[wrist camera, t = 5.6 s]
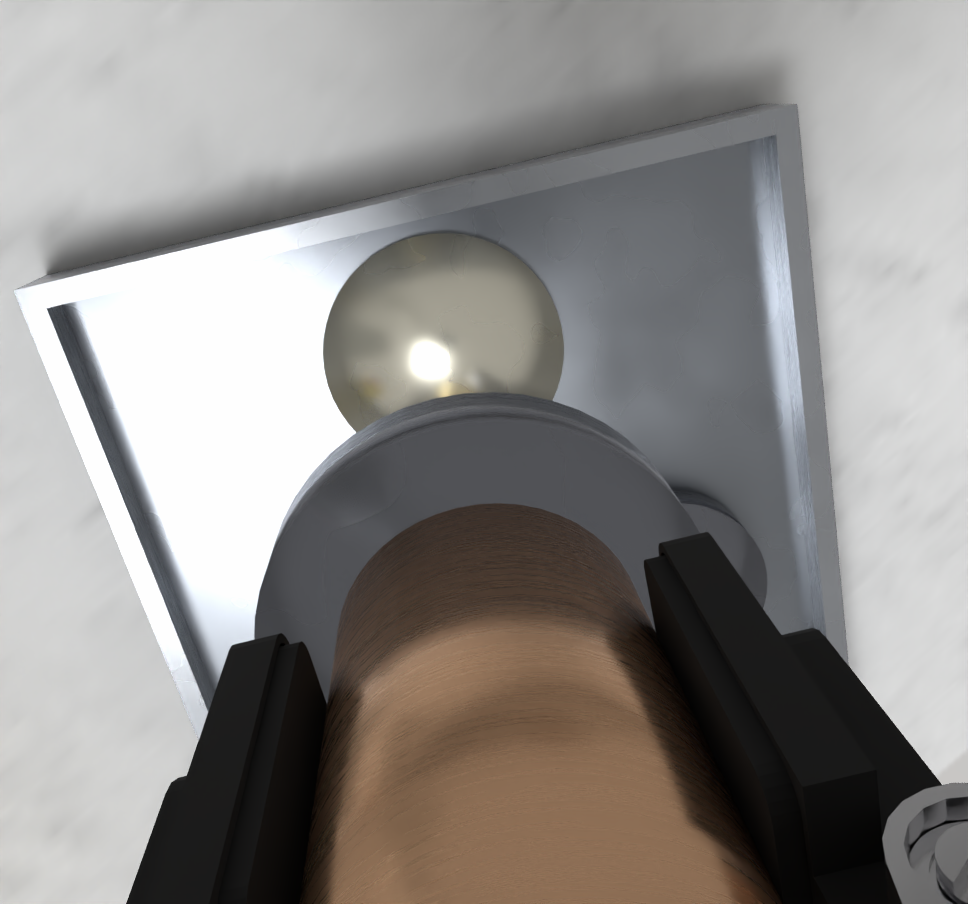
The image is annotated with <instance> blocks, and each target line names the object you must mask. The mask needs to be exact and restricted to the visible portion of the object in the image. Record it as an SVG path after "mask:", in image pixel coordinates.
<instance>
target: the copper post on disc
mask: <svg viewBox="0 0 968 904" xmlns="http://www.w3.org/2000/svg"><path fill="white" fill-rule="evenodd" d="M695 534H700V532H699V531H698V529H697V527H696V526H695V524H694V522H693V521H692V519H691V517H690V515H689V514H688V512H687V511H686V510H685V508H684V507H683V505H682V504H681V502H680V501H679V499H678V498H677V496H676V495H675V494H674V492H673V491H672V489H671V488H670V486H669V485H668V483H667V482H666V480H665V479H664V478H663V476H662V475H661V474H660V473H659V471H658V470H657V469H656V468H655V466H654V465H653V464H652V463H651V461H650V460H649V459H648V458H647V457H646V456H645V455H644V454H643V453H642V452H641V451H640V450H639V449H638V448H637V447H636V446H635V445H633V444H632V443H631V442H630V441H629V440H628V439H627V438H625V437H624V436H623V435H621V434H620V433H618V432H617V431H615V430H614V429H613V428H611V427H610V426H608V425H607V424H605V423H604V422H602V421H600V420H598V419H596V418H594V417H592V416H590V415H588V414H586V413H584V412H582V411H580V410H578V409H575V408H572V407H569V406H566V405H563V404H561V403H558V402H555V401H552V400H547V399H543V398H538V397H533V396H528V395H524V394H512V393H499V392H484V393H463V394H457V395H451V396H446V397H440V398H434V399H431V400H427V401H424V402H421V403H418V404H414V405H411V406H408V407H405V408H402V409H400V410H398V411H396V412H394V413H391V414H389V415H387V416H385V417H382V418H380V419H378V420H376V421H375V422H373V423H371V424H370V425H368V426H366V427H365V428H363V429H362V430H360V431H358V432H357V433H355V434H354V435H352V436H351V437H350V438H348V439H347V440H346V441H345V442H343V443H342V444H341V445H340V446H338V447H337V448H336V449H335V450H334V451H332V452H331V453H330V454H329V455H328V456H327V457H326V458H325V459H324V460H323V461H322V462H321V464H320V465H319V466H318V467H317V468H316V469H315V470H314V471H313V472H312V473H311V474H310V476H309V477H308V478H307V480H306V481H305V483H304V484H303V485H302V487H301V488H300V490H299V491H298V493H297V494H296V495H295V497H294V499H293V501H292V503H291V505H290V507H289V509H288V510H287V512H286V514H285V516H284V518H283V520H282V523H281V526H280V529H279V532H278V535H277V538H276V541H275V543H274V546H273V550H272V553H271V556H270V559H269V562H268V566H267V569H266V572H265V575H264V578H263V581H262V585H261V588H260V591H259V597H258V603H257V608H256V614H255V628H254V639H259V638H263V637H267V636H271V635H275V634H280V633H282V634H283V635H285V637H286V638H287V640H288V641H289V644H293V643H297V642H301V641H302V642H303V643H304V644H305V645H306V647H307V649H308V651H309V654H310V657H311V660H312V662H313V665H314V668H315V671H316V674H317V677H318V680H319V683H320V686H321V689H322V691H323V694H324V697H325V700H326V703H327V710H326V717H325V724H324V732H323V739H322V746H321V753H320V760H319V767H318V774H317V781H316V789H315V796H314V803H313V810H312V817H311V824H310V831H309V838H308V846H307V853H306V860H305V867H304V874H303V881H302V888H301V895H300V903H299V904H783V903H782V901H781V899H780V897H779V894H778V892H777V890H776V888H775V886H774V884H773V882H772V880H771V877H770V875H769V873H768V871H767V869H766V867H765V865H764V862H763V860H762V858H761V856H760V854H759V852H758V850H757V848H756V845H755V843H754V841H753V839H752V837H751V835H750V833H749V830H748V828H747V826H746V824H745V822H744V820H743V818H742V816H741V813H740V811H739V809H738V807H737V805H736V803H735V801H734V798H733V796H732V794H731V792H730V790H729V788H728V786H727V784H726V781H725V779H724V777H723V775H722V773H721V771H720V769H719V766H718V764H717V762H716V760H715V758H714V756H713V754H712V752H711V749H710V747H709V745H708V743H707V741H706V739H705V737H704V735H703V732H702V730H701V728H700V726H699V724H698V722H697V720H696V717H695V715H694V713H693V711H692V709H691V707H690V705H689V703H688V700H687V698H686V696H685V694H684V692H683V690H682V688H681V685H680V683H679V681H678V679H677V677H676V675H675V673H674V671H673V668H672V666H671V664H670V662H669V660H668V658H667V656H666V653H665V651H664V649H663V647H662V645H661V643H660V641H659V639H658V636H657V634H656V631H655V625H654V620H653V614H652V609H651V604H650V598H649V593H648V587H647V582H646V576H645V570H644V560H646V559H650V558H654V557H658V556H659V549H658V546H659V543H662V542H666V541H670V540H674V539H679V538H683V537H687V536H691V535H695Z"/></svg>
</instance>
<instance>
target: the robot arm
mask: <svg viewBox="0 0 968 904" xmlns="http://www.w3.org/2000/svg"><path fill="white" fill-rule="evenodd" d="M658 549H659V556H658V557H654V558H650V559H646V560H644V570H645V576H646V582H647V587H648V593H649V598H650V604H651V609H652V614H653V620H654V625H655V631H656V634H657V636H658V639H659V641H660V643H661V645H662V647H663V649H664V651H665V653H666V656H667V658H668V660H669V662H670V664H671V666H672V668H673V671H674V673H675V675H676V677H677V679H678V681H679V683H680V685H681V688H682V690H683V692H684V694H685V696H686V698H687V700H688V703H689V705H690V707H691V709H692V711H693V713H694V715H695V717H696V720H697V722H698V724H699V726H700V728H701V730H702V732H703V735H704V737H705V739H706V741H707V743H708V745H709V747H710V749H711V752H712V754H713V756H714V758H715V760H716V762H717V764H718V766H719V769H720V771H721V773H722V775H723V777H724V779H725V781H726V784H727V786H728V788H729V790H730V792H731V794H732V796H733V798H734V801H735V803H736V805H737V807H738V809H739V811H740V813H741V816H742V818H743V820H744V822H745V824H746V826H747V828H748V830H749V833H750V835H751V837H752V839H753V841H754V843H755V845H756V848H757V850H758V852H759V854H760V856H761V858H762V860H763V862H764V865H765V867H766V869H767V871H768V873H769V875H770V877H771V880H772V882H773V884H774V886H775V888H776V890H777V892H778V894H779V897H780V899H781V901H782V903H783V904H968V783H950V784H945V785H942V784H941V783H940V782H939V780H938V779H937V778H936V777H935V775H934V774H933V773H932V772H931V770H930V769H929V768H928V766H927V765H926V764H925V763H924V761H923V760H922V759H921V757H920V756H919V755H918V754H917V752H916V751H915V750H914V749H913V747H912V746H911V745H910V743H909V742H908V741H907V740H906V738H905V737H904V736H903V735H902V733H901V732H900V731H899V729H898V728H897V727H896V726H895V724H894V723H893V722H892V721H891V719H890V718H889V717H888V715H887V714H886V713H885V712H884V710H883V709H882V708H881V707H880V705H879V704H878V703H877V701H876V700H875V699H874V698H873V696H872V695H871V694H870V693H869V691H868V690H867V689H866V687H865V686H864V685H863V684H862V682H861V681H860V680H859V679H858V677H857V676H856V675H855V673H854V672H853V671H852V670H851V668H850V667H849V666H848V665H847V663H846V662H845V661H844V659H843V658H842V657H841V656H840V654H839V653H838V652H837V651H836V649H835V648H834V647H833V645H832V644H831V643H830V642H829V640H828V639H827V638H826V637H825V636H824V635H823V634H822V633H821V632H820V631H819V630H818V629H815V628H809V629H805V630H800V631H796V632H792V633H788V634H784V635H781V634H780V632H779V631H778V629H777V628H776V626H775V625H774V624H773V622H772V621H771V619H770V618H769V617H768V615H767V614H766V612H765V611H764V609H763V608H762V607H761V605H760V604H759V602H758V601H757V599H756V598H755V597H754V595H753V594H752V592H751V591H750V590H749V588H748V587H747V585H746V584H745V582H744V581H743V580H742V578H741V577H740V575H739V574H738V573H737V571H736V570H735V568H734V567H733V565H732V564H731V563H730V561H729V560H728V558H727V557H726V555H725V554H724V553H723V551H722V550H721V548H720V547H719V546H718V544H717V543H716V541H715V540H714V538H713V537H712V536H711V534H710V533H709V532H704V533H700V534H695V535H691V536H687V537H683V538H679V539H674V540H670V541H666V542H662V543H659V546H658ZM326 710H327V703H326V700H325V697H324V694H323V691H322V689H321V686H320V683H319V680H318V677H317V674H316V671H315V668H314V665H313V662H312V660H311V657H310V654H309V651H308V649H307V647H306V645H305V644H304V643H303V642H302V641H301V642H297V643H293V644H289V641H288V640H287V638H286V637H285V635H283V634H282V633H280V634H275V635H271V636H267V637H263V638H259V639H254V640H250V641H246V642H242V643H238V644H234V645H232V646H231V648H230V649H229V652H228V655H227V658H226V661H225V664H224V667H223V670H222V673H221V676H220V679H219V682H218V685H217V688H216V691H215V694H214V697H213V700H212V702H211V705H210V708H209V711H208V714H207V717H206V720H205V723H204V726H203V729H202V732H201V735H200V738H199V741H198V744H197V747H196V750H195V753H194V756H193V759H192V762H191V765H190V768H189V771H188V774H187V776H184V777H180V778H177V779H176V780H175V781H173V782H172V783H171V784H170V786H169V788H168V790H167V792H166V794H165V797H164V800H163V802H162V805H161V808H160V811H159V814H158V816H157V819H156V822H155V825H154V828H153V830H152V833H151V836H150V839H149V842H148V844H147V847H146V850H145V853H144V856H143V858H142V861H141V864H140V867H139V870H138V872H137V875H136V878H135V881H134V884H133V886H132V889H131V892H130V895H129V898H128V900H127V903H126V904H299V903H300V895H301V888H302V881H303V874H304V867H305V860H306V853H307V846H308V838H309V831H310V824H311V817H312V810H313V803H314V796H315V789H316V781H317V774H318V767H319V760H320V753H321V746H322V739H323V732H324V724H325V717H326Z"/></svg>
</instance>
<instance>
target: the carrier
mask: <svg viewBox="0 0 968 904" xmlns="http://www.w3.org/2000/svg"><path fill="white" fill-rule="evenodd" d="M14 293H15V295H16V298H17V300H18V303H19V305H20V307H21V310H22V312H23V315H24V317H25V320H26V322H27V324H28V327H29V329H30V332H31V334H32V337H33V339H34V342H35V344H36V346H37V349H38V351H39V354H40V356H41V359H42V361H43V363H44V366H45V368H46V371H47V373H48V376H49V378H50V380H51V383H52V385H53V388H54V390H55V393H56V395H57V397H58V400H59V402H60V405H61V407H62V410H63V412H64V415H65V417H66V419H67V422H68V424H69V427H70V429H71V432H72V434H73V436H74V439H75V441H76V444H77V446H78V449H79V451H80V453H81V456H82V458H83V461H84V463H85V466H86V468H87V470H88V473H89V475H90V478H91V480H92V483H93V485H94V488H95V490H96V492H97V495H98V497H99V500H100V502H101V505H102V507H103V509H104V512H105V514H106V517H107V519H108V522H109V524H110V526H111V529H112V531H113V534H114V536H115V539H116V541H117V543H118V546H119V548H120V551H121V553H122V556H123V558H124V561H125V563H126V565H127V568H128V570H129V573H130V575H131V578H132V580H133V582H134V585H135V587H136V590H137V592H138V595H139V597H140V599H141V602H142V604H143V607H144V609H145V612H146V614H147V617H148V619H149V621H150V624H151V626H152V629H153V631H154V634H155V636H156V638H157V641H158V643H159V646H160V648H161V651H162V653H163V655H164V658H165V660H166V663H167V665H168V668H169V670H170V672H171V675H172V677H173V680H174V682H175V685H176V687H177V690H178V692H179V694H180V697H181V699H182V702H183V704H184V707H185V709H186V711H187V714H188V716H189V719H190V721H191V724H192V726H193V728H194V731H195V733H196V736H197V738H198V741H199V738H200V735H201V732H202V729H203V726H204V723H205V720H206V717H207V714H208V711H209V708H210V705H211V702H212V700H213V697H214V694H215V691H216V688H217V685H218V682H219V679H220V676H221V673H222V670H223V667H224V664H225V661H226V658H227V655H228V652H229V649H230V648H231V646H232V645H234V644H238V643H242V642H246V641H250V640H254V628H255V614H256V608H257V603H258V597H259V591H260V588H261V585H262V581H263V578H264V575H265V572H266V569H267V566H268V562H269V559H270V556H271V553H272V550H273V546H274V543H275V541H276V538H277V535H278V532H279V529H280V526H281V523H282V520H283V518H284V516H285V514H286V512H287V510H288V509H289V507H290V505H291V503H292V501H293V499H294V497H295V495H296V494H297V493H298V491H299V490H300V488H301V487H302V485H303V484H304V483H305V481H306V480H307V478H308V477H309V476H310V474H311V473H312V472H313V471H314V470H315V469H316V468H317V467H318V466H319V465H320V464H321V462H322V461H323V460H324V459H325V458H326V457H327V456H328V455H329V454H330V453H331V452H332V451H334V450H335V449H336V448H337V447H338V446H340V445H341V444H342V443H343V442H345V441H346V440H347V439H348V438H350V437H351V436H352V435H354V434H355V433H357V432H358V431H360V430H362V429H363V428H365V427H366V426H368V425H370V424H371V423H373V422H375V421H376V420H378V419H380V418H382V417H385V416H387V415H389V414H391V413H394V412H396V411H398V410H400V409H402V408H405V407H408V406H411V405H414V404H418V403H421V402H424V401H427V400H431V399H434V398H440V397H446V396H451V395H457V394H463V393H484V392H499V393H512V394H524V395H528V396H533V397H538V398H543V399H547V400H552V401H555V402H558V403H561V404H563V405H566V406H569V407H572V408H575V409H578V410H580V411H582V412H584V413H586V414H588V415H590V416H592V417H594V418H596V419H598V420H600V421H602V422H604V423H605V424H607V425H608V426H610V427H611V428H613V429H614V430H615V431H617V432H618V433H620V434H621V435H623V436H624V437H625V438H627V439H628V440H629V441H630V442H631V443H632V444H633V445H635V446H636V447H637V448H638V449H639V450H640V451H641V452H642V453H643V454H644V455H645V456H646V457H647V458H648V459H649V460H650V461H651V463H652V464H653V465H654V466H655V468H656V469H657V470H658V471H659V473H660V474H661V475H662V476H663V478H664V479H665V480H666V482H667V483H668V485H669V486H670V488H671V489H672V491H673V492H674V494H675V495H676V496H677V498H678V499H679V501H680V502H681V504H682V505H683V507H684V508H685V510H686V511H687V512H688V514H689V515H690V517H691V519H692V521H693V522H694V524H695V526H696V527H697V529H698V531H699V532H700V533H704V532H709V533H710V534H711V536H712V537H713V538H714V540H715V541H716V543H717V544H718V546H719V547H720V548H721V550H722V551H723V553H724V554H725V555H726V557H727V558H728V560H729V561H730V563H731V564H732V565H733V567H734V568H735V570H736V571H737V573H738V574H739V575H740V577H741V578H742V580H743V581H744V582H745V584H746V585H747V587H748V588H749V590H750V591H751V592H752V594H753V595H754V597H755V598H756V599H757V601H758V602H759V604H760V605H761V607H762V608H763V609H764V611H765V612H766V614H767V615H768V617H769V618H770V619H771V621H772V622H773V624H774V625H775V626H776V628H777V629H778V631H779V632H780V634H781V635H784V634H788V633H792V632H796V631H800V630H805V629H809V628H815V629H818V630H819V631H820V632H821V633H822V634H823V635H824V636H825V637H826V638H827V639H828V640H829V642H830V643H831V644H832V645H833V647H834V648H835V649H836V651H837V652H838V653H839V654H840V656H841V657H842V658H843V659H844V661H845V662H846V663H847V665H848V654H847V643H846V632H845V621H844V610H843V599H842V589H841V578H840V567H839V556H838V545H837V534H836V523H835V512H834V501H833V490H832V479H831V468H830V457H829V446H828V435H827V425H826V414H825V403H824V392H823V381H822V370H821V359H820V348H819V337H818V326H817V315H816V304H815V293H814V282H813V271H812V261H811V250H810V239H809V228H808V217H807V206H806V195H805V184H804V173H803V162H802V151H801V140H800V129H799V118H798V107H797V104H763V105H759V106H755V107H750V108H746V109H742V110H738V111H734V112H729V113H725V114H721V115H717V116H713V117H708V118H704V119H700V120H696V121H692V122H687V123H683V124H679V125H675V126H671V127H666V128H662V129H658V130H654V131H650V132H645V133H641V134H637V135H633V136H629V137H624V138H620V139H616V140H612V141H608V142H604V143H599V144H595V145H591V146H587V147H583V148H578V149H574V150H570V151H566V152H562V153H557V154H553V155H549V156H545V157H541V158H536V159H532V160H528V161H524V162H520V163H515V164H511V165H507V166H503V167H499V168H494V169H490V170H486V171H482V172H478V173H473V174H469V175H465V176H461V177H457V178H452V179H448V180H444V181H440V182H436V183H431V184H427V185H423V186H419V187H415V188H410V189H406V190H402V191H398V192H394V193H390V194H385V195H381V196H377V197H373V198H369V199H364V200H360V201H356V202H352V203H348V204H343V205H339V206H335V207H331V208H327V209H322V210H318V211H314V212H310V213H306V214H301V215H297V216H293V217H289V218H285V219H280V220H276V221H272V222H268V223H264V224H259V225H255V226H251V227H247V228H243V229H238V230H234V231H230V232H226V233H222V234H217V235H213V236H209V237H205V238H201V239H196V240H192V241H188V242H184V243H180V244H176V245H171V246H167V247H163V248H159V249H155V250H150V251H146V252H142V253H138V254H134V255H129V256H125V257H121V258H117V259H113V260H108V261H104V262H100V263H96V264H92V265H87V266H83V267H79V268H75V269H71V270H66V271H62V272H58V273H54V274H50V275H46V276H43V277H41V278H39V279H37V280H35V281H33V282H31V283H29V284H27V285H24V286H22V287H20V288H18V289H16V290H14ZM848 666H849V665H848Z"/></svg>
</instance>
